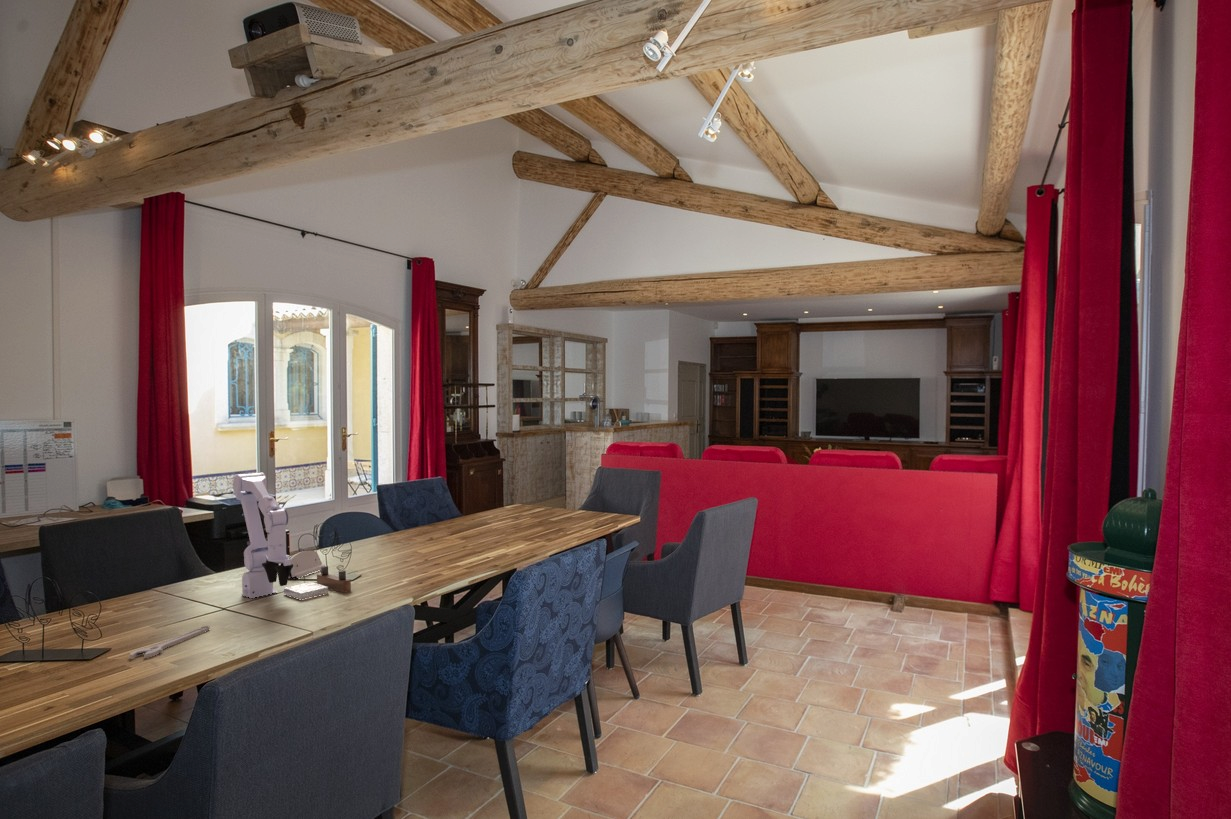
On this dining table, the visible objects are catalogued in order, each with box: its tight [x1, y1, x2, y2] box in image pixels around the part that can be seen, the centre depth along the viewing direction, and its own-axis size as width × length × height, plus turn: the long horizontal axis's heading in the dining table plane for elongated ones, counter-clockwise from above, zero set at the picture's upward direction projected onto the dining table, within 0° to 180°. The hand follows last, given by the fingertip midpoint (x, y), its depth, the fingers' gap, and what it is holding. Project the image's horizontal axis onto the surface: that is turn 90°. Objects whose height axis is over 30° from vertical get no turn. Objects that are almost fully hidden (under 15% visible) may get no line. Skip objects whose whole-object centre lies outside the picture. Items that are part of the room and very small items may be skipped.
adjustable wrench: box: [129, 625, 211, 660], centre depth 202 cm, size 25×6×2 cm, turn 163°
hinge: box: [289, 550, 326, 579], centre depth 281 cm, size 17×5×10 cm, turn 164°
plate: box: [283, 581, 329, 601], centre depth 251 cm, size 10×12×3 cm
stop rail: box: [316, 565, 352, 593], centre depth 259 cm, size 3×18×7 cm, turn 52°
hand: (278, 583), depth 243 cm, fingers open, 7 cm apart
